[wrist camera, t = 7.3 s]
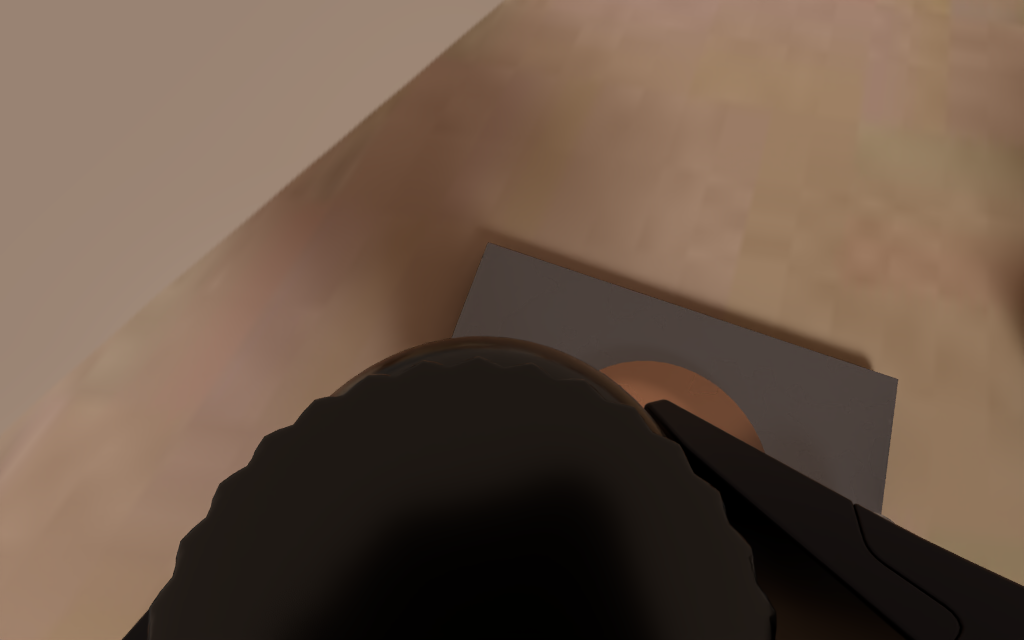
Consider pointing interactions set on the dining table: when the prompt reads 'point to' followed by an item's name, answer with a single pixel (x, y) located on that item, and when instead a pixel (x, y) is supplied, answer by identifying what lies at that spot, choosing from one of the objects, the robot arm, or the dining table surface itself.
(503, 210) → the dining table surface
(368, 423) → the supplement bottle
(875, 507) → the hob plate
